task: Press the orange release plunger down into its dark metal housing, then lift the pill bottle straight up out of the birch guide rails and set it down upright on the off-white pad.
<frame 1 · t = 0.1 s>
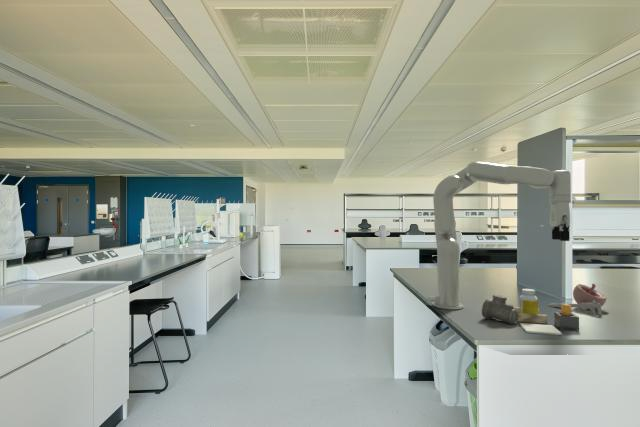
hand: (560, 240, 154), 31 cm above the countertop, fingers open, 9 cm apart
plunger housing: (566, 327, 134), on the countertop
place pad: (539, 329, 132), on the countertop
plunger: (566, 311, 134), point 6 cm above the countertop, slide at 0.0 cm
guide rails: (528, 318, 147), on the countertop
mortar and pestle: (589, 309, 162), on the countertop
pipe fitting: (500, 321, 143), on the countertop
pill bottle: (528, 319, 147), on the countertop
caliper: (572, 311, 160), on the countertop
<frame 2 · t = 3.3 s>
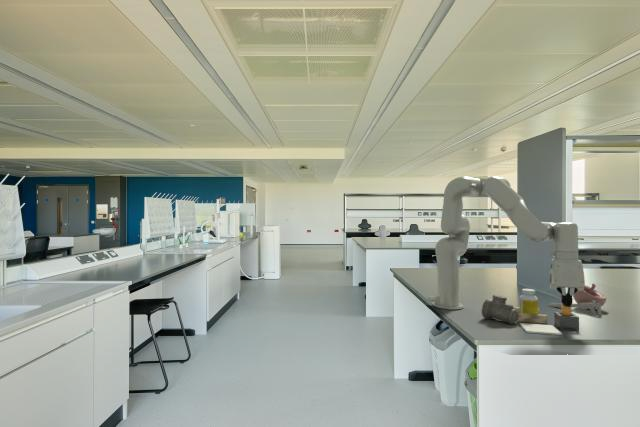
hand: (566, 305, 134), 8 cm above the countertop, fingers closed
plunger: (566, 312, 134), point 6 cm above the countertop, slide at 0.3 cm, touching gripper
everything else where it was.
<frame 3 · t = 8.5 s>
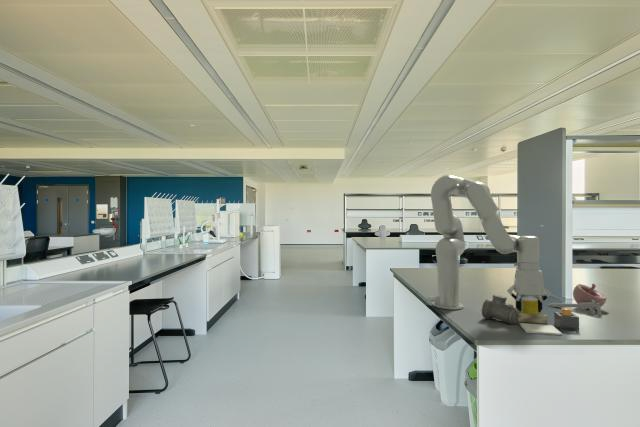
hand: (528, 310, 147), 3 cm above the countertop, fingers closed on pill bottle, 6 cm apart
plunger: (566, 315, 134), point 4 cm above the countertop, slide at 1.6 cm
pill bottle: (528, 319, 147), on the countertop, touching gripper
everything else where it was.
when the fingers open (5 cm above the countertop, at t = 15.1 s): pill bottle drops 1 cm, resting on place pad.
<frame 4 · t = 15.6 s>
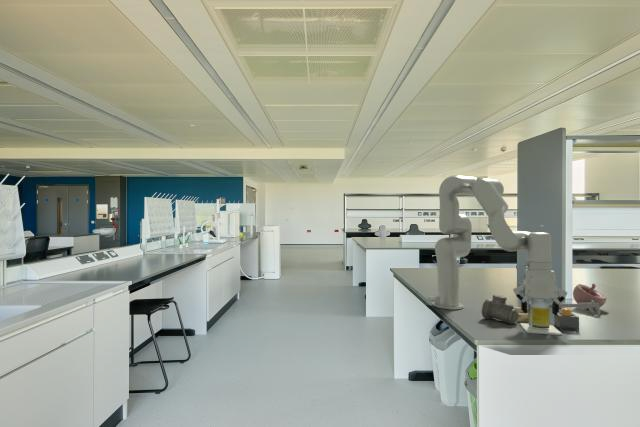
hand: (539, 313, 132), 6 cm above the countertop, fingers open, 9 cm apart
pill bottle: (538, 328, 133), resting on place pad
everything else where it was.
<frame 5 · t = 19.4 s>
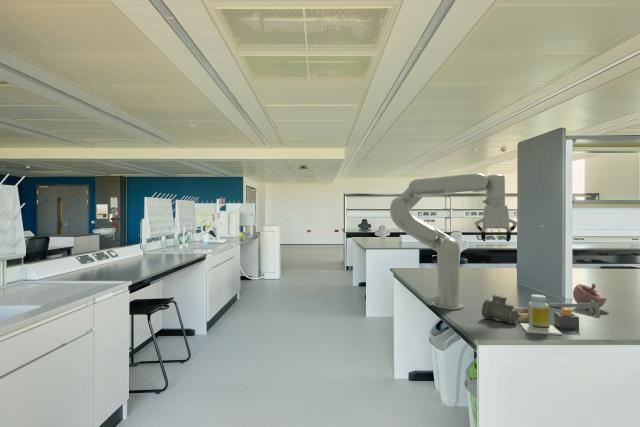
hand: (495, 241, 161), 30 cm above the countertop, fingers open, 9 cm apart
nothing on the countertop moved.
at the end: plunger slide at 1.6 cm; pill bottle inside the target area on the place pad (0.4 cm from its centre), point 0.4 cm above the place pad's base; pill bottle tilted 0° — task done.
